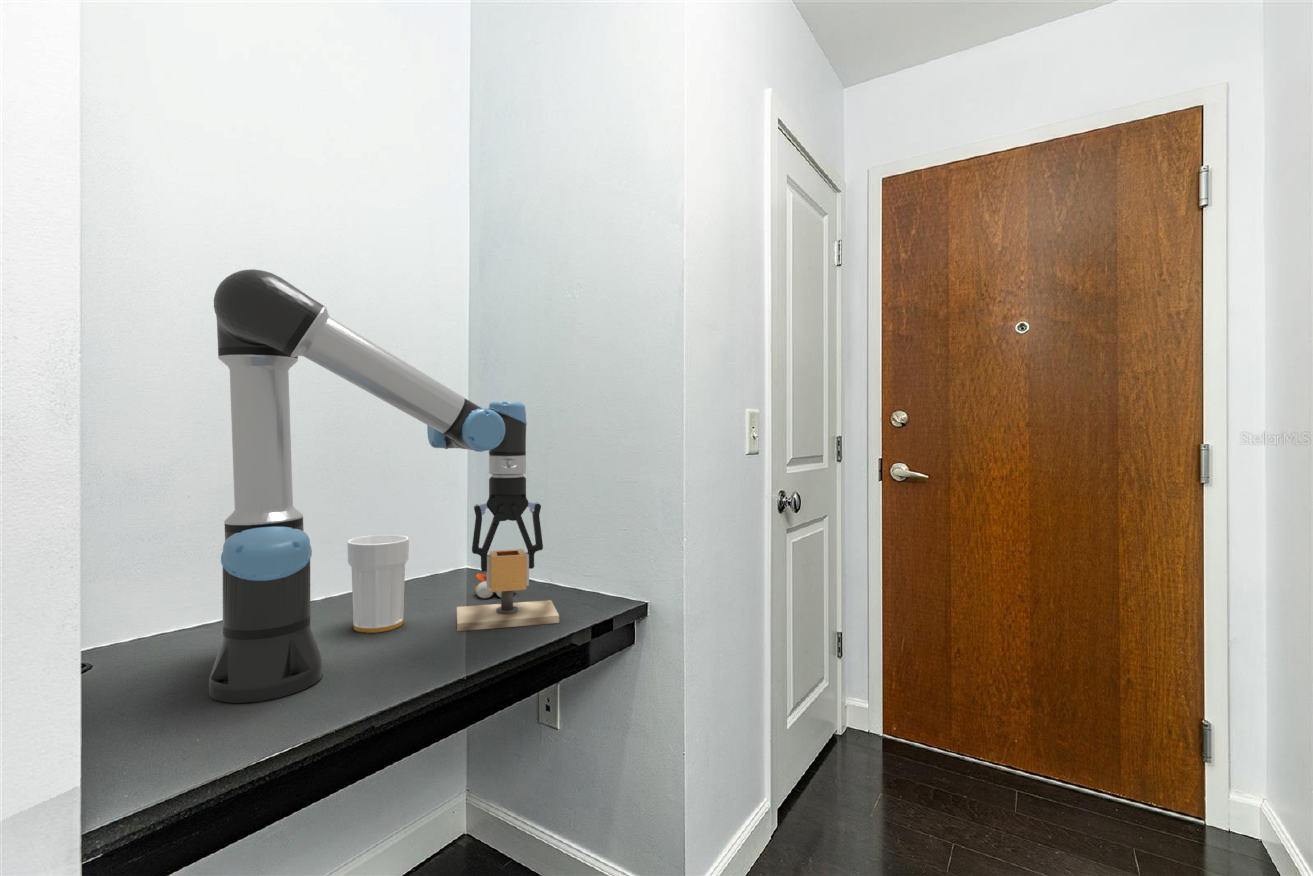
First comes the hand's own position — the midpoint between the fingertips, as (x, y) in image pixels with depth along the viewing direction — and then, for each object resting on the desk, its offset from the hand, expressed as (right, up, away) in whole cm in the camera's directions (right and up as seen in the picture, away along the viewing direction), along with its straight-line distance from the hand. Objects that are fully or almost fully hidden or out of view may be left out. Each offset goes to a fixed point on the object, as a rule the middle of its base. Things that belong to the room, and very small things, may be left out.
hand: (507, 585), depth 133 cm
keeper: (0, -7, 0) cm, 7 cm away
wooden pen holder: (0, 0, 0) cm, 0 cm away
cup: (-25, -7, -5) cm, 26 cm away
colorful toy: (-7, -7, +19) cm, 21 cm away
